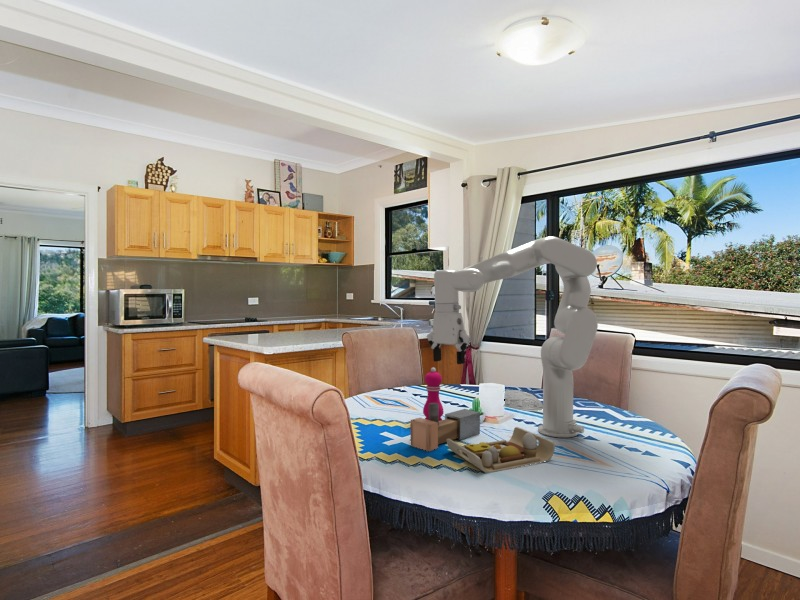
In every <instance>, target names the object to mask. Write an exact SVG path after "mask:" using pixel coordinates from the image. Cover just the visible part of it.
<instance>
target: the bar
mask: <svg viewBox="0 0 800 600" xmlns="http://www.w3.org/2000/svg"><path fill="white" fill-rule="evenodd" d="M429 420H430V421H434V422H437V423H438V445H441V444H444V443H447V441H446V439H451V440H452V441H454V440H456V439H457V440H458V419H455V418H448V419H445V418H444V419H442V420H441V421H439V404H438V403H429Z"/></svg>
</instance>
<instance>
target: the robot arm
mask: <svg viewBox="0 0 800 600" xmlns="http://www.w3.org/2000/svg"><path fill="white" fill-rule="evenodd" d="M547 264H552V265H554V266H555V267H554V268H555V271H556V273H557V274H558V275H559V277H560V278H561V282H562V285H563V291H562V295H561V299H560V302H559V305H558V308H557V311H556V314H555V317H554V321H553V322H554V323H553V324H554V328H555V329H556V330H557V332H559V333H561V334H563V335H564V337H562V336H552V337H549V338H547V339H546V340H545V341H544V342H543V344H542V345H541V348H540V358H541V360H540V361H541V364H542V377H543V378H542V383H543V384H542V404H543V410H542V423H541V424H540V425H538V426H537V432H539V433H540V434H542V435H544V436H548V437H553V438H567V439H568V438H573V437H576V436H578V435H579V434H584V432H585V426H584V425H580V424H578V423H577V420H576V419H574V373H573V371H577V370H580V369H582V367H583V366H585V364H586V362H587V360H588V358H589V357H590V353H591V350H592V347H593V344H594V341H595V339H596V335H597V331H598V326H599V325H598V324H599V322H598V321H599V320H598V318H597V315H596V313H595V312H594V311H593V310H592V309H590V308H588V306H589V301H590V298H591V294H592V293H591V292H592V291H591V282H590V281H589V278H588V277H589V276H591V275H593V274H594V272H595V271H596V269H597V267H598V261H597V257H596V256H595V254H594V253H592V251H590V250H589V249H586V248H584V247H581V246H580V245H576V244H574V243H571V241H567V240H566V239H562V238H561V237H560V238H559V237H557V236H554V235H553V236H546V237H541V238H537V239H535V240H532V241H529V242H527V243H524V244H521V245H519V246H516V247H514V248H511V249H509V250H506V251H504V252H501V253H499V254H496V255H493V256H492V257H490V258H487V259H485V260H482V261H479V262H477V263H474V264H472V265H469V266H467V267H464V268H462V269H459V270H458V269H457V270H456V269H439V270H436V271H435V272H434V274H433V284H434V285H433V286H434V314H433V321H432V331H431V332H430V333H428V334H427V335H426V338H427V340H428V344H429V345H430V346H431V347H430V348H431V349H432V353H433V355H432V356H433V362H441V361H442V348H441V346H442V345H449V346H454V347H455V348H456V350H457V351H456V364H457V365H462V364H465V362H466V353H465V351H467V348H468V347H469V346H470V343H471V340H472V337H471V336H470V335H468V334H466V333H465V324H464V323H465V322H464V318H463V315H462V313H461V312H460V310H461V309H462V305H460V301H459V292H463V293H465V292H466V293H474V292H477V291H479V290H480V289H482V288H483V286H484V285H486V284H489V283H491V282H495V281H499V280H505V279H510V278H513V277H516V276H518V275H522V274H523V273H526V272H528V271H530V270H534V269H535V268H536V269H537V268H538V267H540V266H541V267H542V266H543V265H547Z"/></svg>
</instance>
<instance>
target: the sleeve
mask: <svg viewBox="0 0 800 600" xmlns="http://www.w3.org/2000/svg"><path fill="white" fill-rule="evenodd" d="M448 418H455V419H458V438H457V440H458V441H463V440H465V439H467V438H471V437H474V436H477V435H480V434H481V413H480V411H475V410H470V409H467V408H463V409H459V410H455V411H452V412H447V413H445V414H444V419H448Z"/></svg>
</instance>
